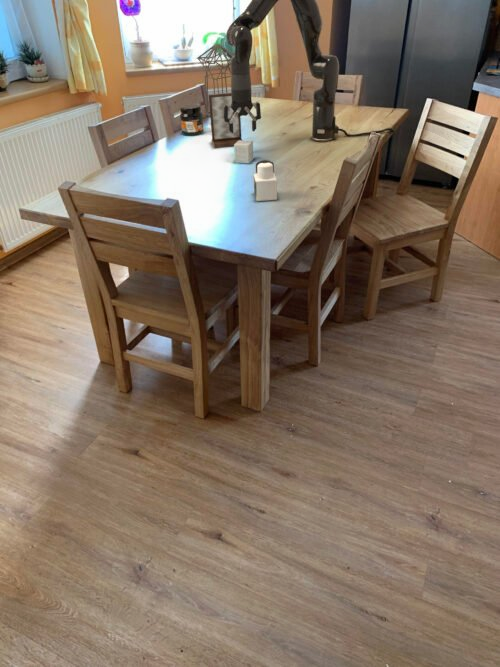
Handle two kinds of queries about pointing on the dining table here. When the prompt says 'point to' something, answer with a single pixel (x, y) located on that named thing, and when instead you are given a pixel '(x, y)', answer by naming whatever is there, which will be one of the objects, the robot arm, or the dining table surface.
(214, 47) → the geometric lantern
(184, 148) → the dining table surface
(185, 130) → the supplement container
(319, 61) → the robot arm
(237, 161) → the product box
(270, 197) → the medicine bottle
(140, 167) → the dining table surface
